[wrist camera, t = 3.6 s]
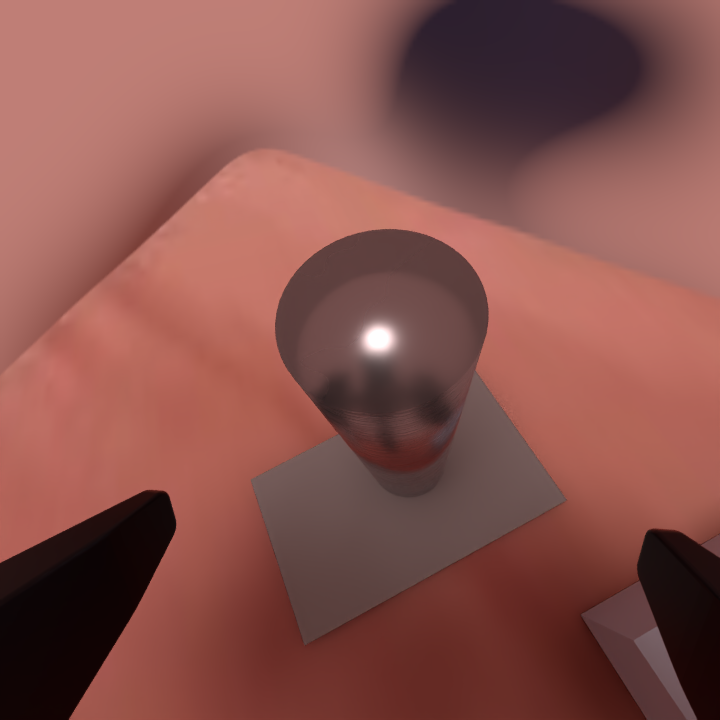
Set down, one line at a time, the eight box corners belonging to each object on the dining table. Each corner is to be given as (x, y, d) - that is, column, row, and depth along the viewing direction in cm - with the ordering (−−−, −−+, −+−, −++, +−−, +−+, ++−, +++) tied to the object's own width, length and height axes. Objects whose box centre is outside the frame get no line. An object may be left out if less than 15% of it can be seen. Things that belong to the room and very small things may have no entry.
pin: (391, 512, 16) (323, 455, 5) (357, 442, 18) (249, 282, 7) (459, 475, 17) (537, 344, 5) (420, 409, 18) (418, 201, 7)
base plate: (307, 643, 15) (304, 645, 15) (254, 480, 18) (250, 479, 18) (563, 501, 16) (566, 500, 16) (470, 368, 19) (471, 365, 19)
